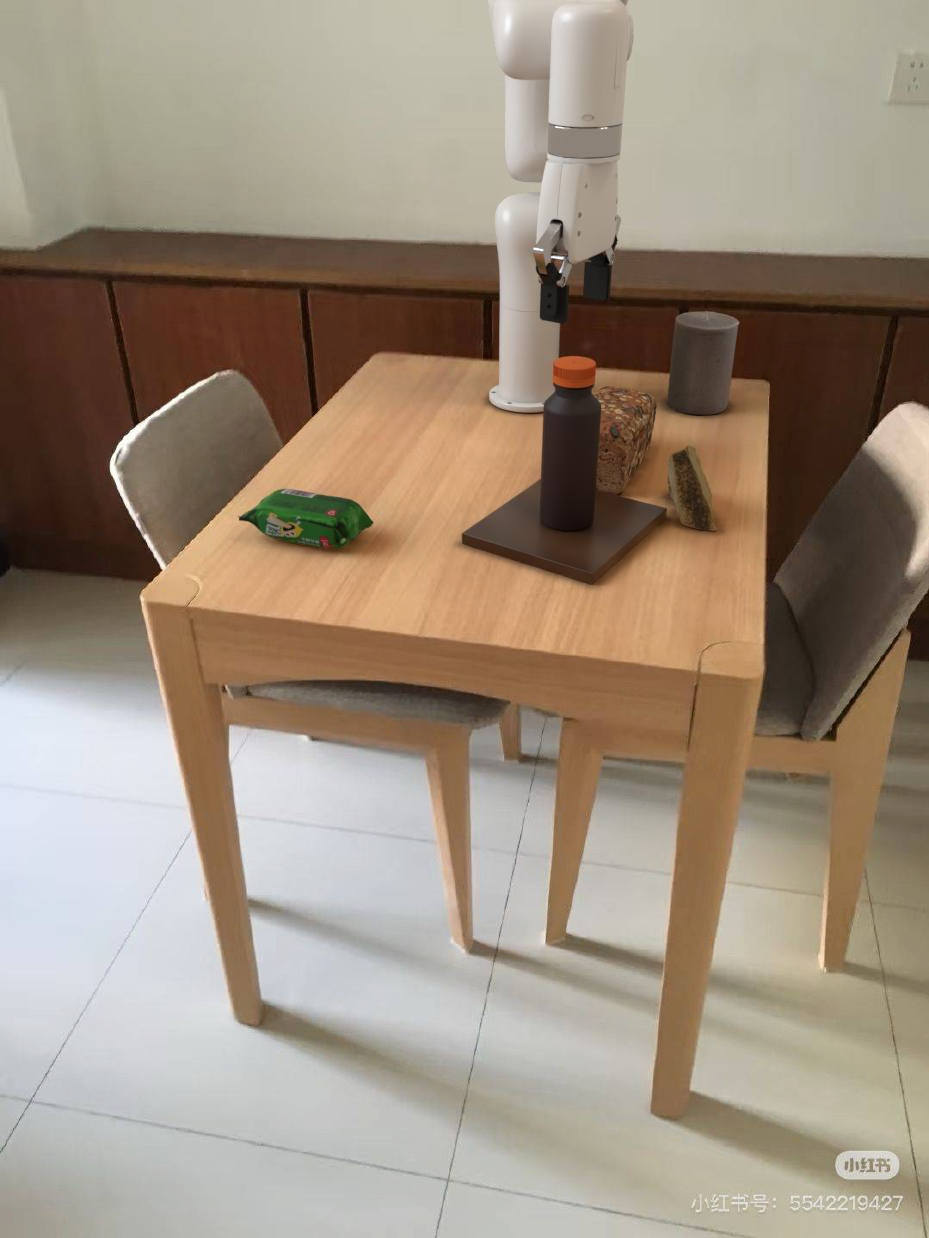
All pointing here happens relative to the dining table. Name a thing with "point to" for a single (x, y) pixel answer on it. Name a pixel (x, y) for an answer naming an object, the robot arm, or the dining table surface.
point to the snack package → (309, 518)
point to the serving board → (565, 534)
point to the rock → (690, 490)
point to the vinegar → (570, 446)
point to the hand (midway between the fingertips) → (575, 310)
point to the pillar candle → (701, 362)
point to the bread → (622, 435)
